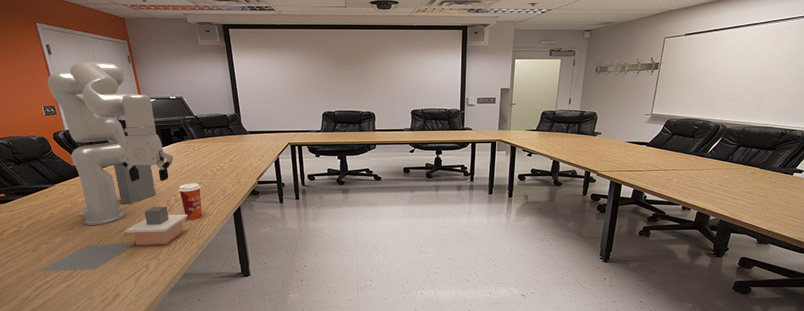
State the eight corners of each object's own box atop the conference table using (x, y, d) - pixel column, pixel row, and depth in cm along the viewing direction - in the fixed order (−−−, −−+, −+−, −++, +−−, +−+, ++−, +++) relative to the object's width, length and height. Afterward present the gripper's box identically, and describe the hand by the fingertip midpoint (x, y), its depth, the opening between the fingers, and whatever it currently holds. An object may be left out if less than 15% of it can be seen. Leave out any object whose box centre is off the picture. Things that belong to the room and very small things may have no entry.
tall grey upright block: (145, 194, 168) (137, 147, 162) (156, 194, 167) (148, 147, 162) (119, 203, 154) (109, 152, 149) (130, 204, 153) (120, 152, 148)
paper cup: (194, 221, 133) (189, 188, 130) (178, 219, 134) (173, 187, 132) (208, 214, 140) (204, 183, 138) (193, 212, 142) (189, 182, 139)
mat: (39, 272, 96) (39, 270, 96) (87, 246, 112) (87, 245, 112) (96, 270, 97) (95, 268, 97) (135, 245, 113) (135, 243, 113)
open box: (136, 246, 112) (133, 230, 111) (156, 233, 122) (153, 218, 120) (166, 245, 112) (163, 229, 111) (183, 232, 122) (181, 218, 121)
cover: (125, 232, 109) (122, 216, 108) (152, 217, 122) (149, 202, 121) (165, 231, 110) (162, 215, 109) (187, 216, 122) (185, 202, 121)
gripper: (105, 133, 105) (115, 183, 109) (161, 133, 106) (168, 182, 110) (123, 130, 112) (132, 177, 116) (175, 130, 113) (182, 176, 117)
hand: (149, 180), depth 113 cm, fingers open, 9 cm apart
